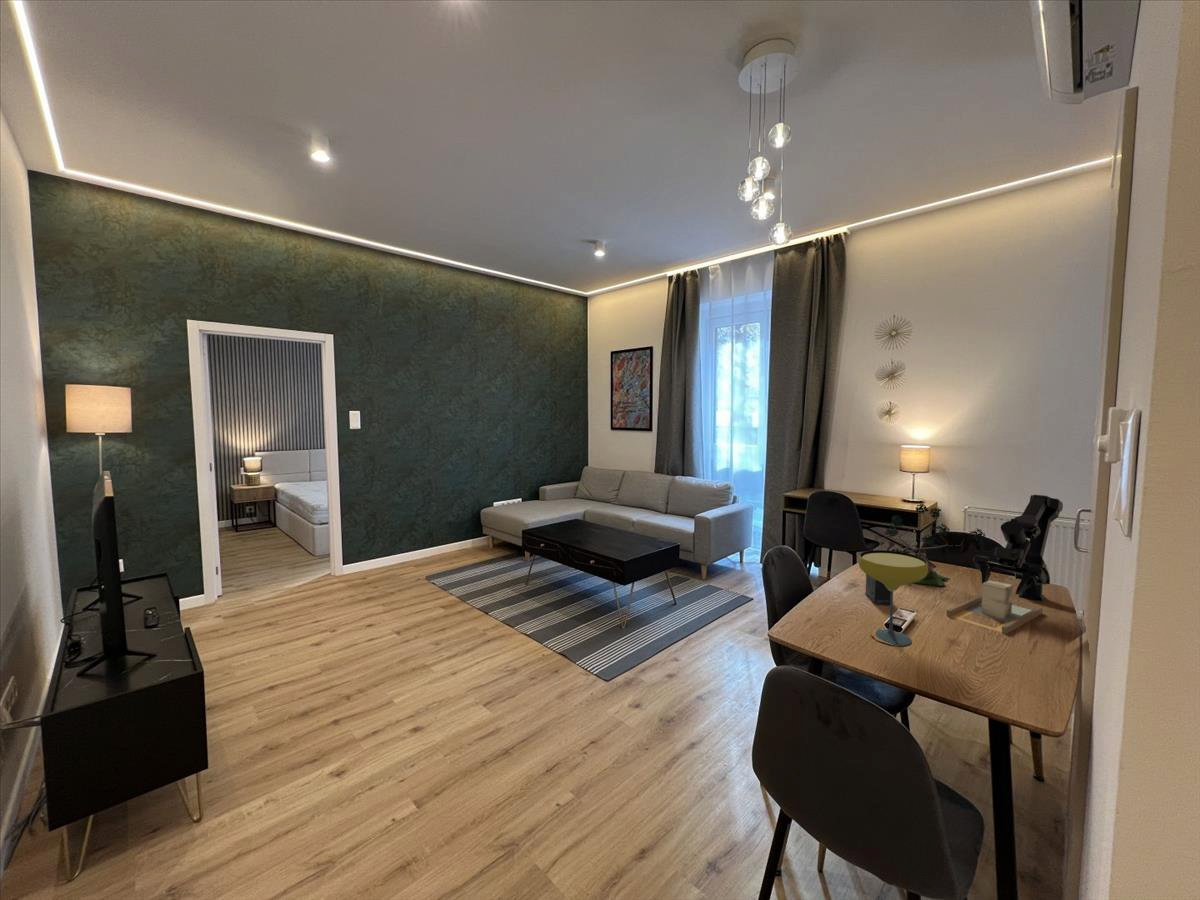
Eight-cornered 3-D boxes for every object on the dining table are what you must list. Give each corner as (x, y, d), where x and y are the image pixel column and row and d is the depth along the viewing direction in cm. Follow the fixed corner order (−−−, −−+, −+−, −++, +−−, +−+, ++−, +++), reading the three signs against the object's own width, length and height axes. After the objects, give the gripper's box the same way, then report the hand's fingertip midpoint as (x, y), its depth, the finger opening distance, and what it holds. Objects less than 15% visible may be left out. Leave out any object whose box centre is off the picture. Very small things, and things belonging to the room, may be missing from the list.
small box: (894, 606, 174) (894, 577, 173) (874, 605, 175) (874, 576, 175) (883, 595, 184) (883, 567, 184) (864, 594, 186) (865, 567, 185)
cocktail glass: (844, 632, 155) (845, 554, 153) (883, 621, 162) (885, 547, 160) (899, 657, 138) (900, 571, 136) (940, 644, 145) (942, 561, 144)
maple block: (989, 608, 166) (990, 579, 165) (1011, 614, 161) (1012, 584, 160) (981, 612, 163) (982, 583, 162) (1003, 618, 158) (1004, 588, 157)
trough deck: (984, 602, 175) (984, 592, 175) (1041, 617, 161) (1042, 607, 161) (946, 620, 161) (946, 609, 161) (1005, 638, 148) (1006, 627, 147)
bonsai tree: (872, 581, 199) (873, 504, 196) (887, 566, 216) (888, 496, 214) (980, 603, 175) (983, 515, 172) (988, 584, 192) (990, 504, 190)
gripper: (976, 532, 172) (959, 568, 167) (1044, 543, 156) (1028, 584, 151) (985, 550, 176) (969, 586, 172) (1053, 563, 160) (1037, 603, 155)
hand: (999, 589), depth 162 cm, fingers open, 9 cm apart
